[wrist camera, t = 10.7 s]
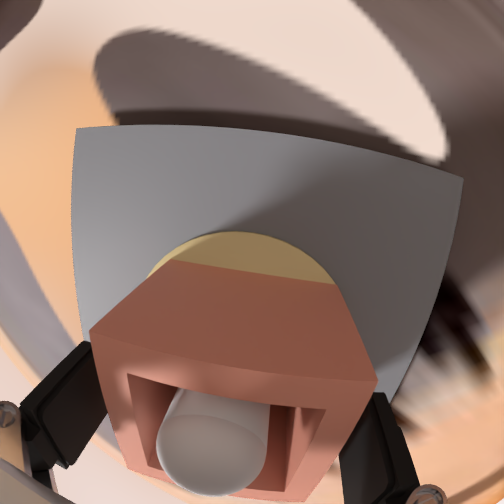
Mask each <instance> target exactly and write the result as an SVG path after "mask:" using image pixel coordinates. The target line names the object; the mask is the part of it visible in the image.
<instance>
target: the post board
mask: <svg viewBox="0 0 504 504" xmlns="http://www.w3.org/2000/svg"><path fill="white" fill-rule="evenodd" d="M463 181H464V178H462V177H460V176H457V175H454V174H451V173H448V172H445V171H442V170H439V169H436V168H433V167H430V166H427V165H424V164H420V163H417V162H413V161H410V160H407V159H403V158H399V157H396V156H392V155H388V154H384V153H380V152H376V151H372V150H368V149H364V148H359V147H355V146H350V145H345V144H340V143H335V142H330V141H325V140H319V139H314V138H308V137H301V136H295V135H288V134H281V133H274V132H266V131H257V130H247V129H237V128H225V127H210V126H190V125H120V126H102V127H88V128H77V129H76V136H75V146H74V158H73V171H72V195H71V226H72V250H73V264H74V276H75V285H76V293H77V301H78V308H79V315H80V321H81V326H82V332H83V337H84V341H88V342H91V341H90V335H89V330H90V329H91V328H92V327H93V326H94V325H95V324H96V323H97V322H98V321H99V320H101V319H102V318H103V317H104V316H105V315H106V314H107V313H108V312H109V311H111V310H112V309H113V308H114V307H115V306H116V305H117V304H118V303H119V302H121V301H122V300H123V299H124V298H125V297H126V296H127V295H129V294H130V293H131V292H132V291H133V290H134V289H135V288H137V287H138V286H139V285H140V284H141V283H142V282H143V281H145V280H146V279H147V278H148V277H149V276H150V275H152V274H153V273H154V272H155V271H156V270H157V269H159V268H160V267H161V266H162V265H163V264H165V263H166V262H167V261H168V260H169V259H173V260H179V261H185V262H191V263H197V264H203V265H209V266H215V267H221V268H228V269H234V270H240V271H247V272H253V273H260V274H266V275H273V276H280V277H286V278H293V279H300V280H307V281H314V282H321V283H328V284H335V285H338V288H339V290H340V292H341V294H342V296H343V298H344V301H345V303H346V305H347V307H348V309H349V312H350V314H351V316H352V318H353V321H354V323H355V325H356V328H357V330H358V332H359V335H360V337H361V339H362V342H363V344H364V346H365V349H366V351H367V354H368V356H369V358H370V361H371V363H372V366H373V368H374V371H375V373H376V376H377V378H378V381H379V382H378V384H377V386H376V388H375V390H374V392H384V393H385V394H386V396H387V399H388V402H389V403H390V401H391V400H392V398H393V396H394V394H395V392H396V390H397V388H398V387H399V385H400V383H401V381H402V379H403V377H404V375H405V373H406V371H407V368H408V366H409V364H410V362H411V360H412V358H413V355H414V353H415V351H416V349H417V346H418V344H419V342H420V339H421V337H422V334H423V332H424V329H425V327H426V324H427V322H428V319H429V317H430V314H431V311H432V308H433V305H434V303H435V300H436V297H437V294H438V291H439V288H440V284H441V281H442V278H443V275H444V271H445V268H446V264H447V260H448V257H449V253H450V249H451V245H452V241H453V236H454V232H455V227H456V223H457V218H458V212H459V207H460V201H461V195H462V188H463ZM269 414H270V404H265V403H257V402H250V401H244V400H238V399H232V398H226V397H221V396H216V395H211V394H206V393H201V392H197V391H192V390H188V389H184V388H179V387H178V389H177V391H176V393H175V395H174V398H173V400H172V402H171V404H170V406H169V409H168V411H167V413H166V415H165V417H164V420H163V422H162V424H161V426H160V428H159V431H158V435H157V440H156V450H157V456H158V459H159V462H160V464H161V466H162V468H163V470H164V471H165V473H166V474H167V475H168V476H169V477H170V479H171V480H172V481H174V482H175V483H176V484H177V485H179V486H180V487H182V488H183V489H185V490H187V491H189V492H192V493H194V494H198V495H202V496H210V497H219V496H225V495H230V494H233V493H236V492H238V491H240V490H242V489H244V488H246V487H247V486H248V485H250V484H251V483H252V482H253V481H254V480H255V479H256V477H257V476H258V475H259V473H260V472H261V470H262V468H263V466H264V463H265V458H266V452H267V440H268V427H269ZM338 455H339V454H338Z"/></svg>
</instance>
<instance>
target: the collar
mask: <svg viewBox="0 0 504 504" xmlns="http://www.w3.org/2000/svg"><path fill="white" fill-rule="evenodd" d="M89 335H90V341H91V346H92V351H93V356H94V361H95V365H96V370H97V374H98V378H99V382H100V386H101V390H102V394H103V397H104V401H105V405H106V408H107V411H108V415H109V418H110V421H111V424H112V427H113V430H114V433H115V436H116V439H117V442H118V444H119V447H120V450H121V452H122V455H123V458H124V460H125V463H126V465H127V467H128V469H130V470H132V471H135V472H138V473H141V474H144V475H147V476H150V477H153V478H156V479H159V480H162V481H166V482H169V483H173V484H176V483H175V482H174V481H172V480H171V479H170V477H169V476H168V475H167V474H166V473H165V471H164V470H163V468H162V466H161V464H160V462H159V459H158V456H157V450H156V440H157V435H158V431H159V428H160V426H161V424H162V422H163V420H164V417H165V415H166V413H167V411H168V409H169V406H170V404H171V402H172V400H173V398H174V395H175V393H176V391H177V389H178V387H179V388H184V389H188V390H192V391H197V392H201V393H206V394H211V395H216V396H221V397H226V398H232V399H238V400H244V401H250V402H257V403H265V404H270V414H269V427H268V440H267V452H266V458H265V463H264V466H263V468H262V470H261V472H260V473H259V475H258V476H257V477H256V479H255V480H254V481H253V482H252V483H251V484H250V485H248V486H247V487H246V488H244V489H242V490H240V491H238V492H236V493H233V494H230V495H228V496H235V497H242V498H250V499H259V500H270V501H285V502H305V501H306V499H307V498H308V497H309V495H310V494H311V493H312V491H313V490H314V489H315V487H316V486H317V485H318V483H319V482H320V481H321V479H322V478H323V476H324V475H325V473H326V472H327V471H328V469H329V468H330V466H331V465H332V463H333V462H334V460H335V459H336V457H337V455H338V454H339V452H340V451H341V449H342V448H343V446H344V444H345V443H346V441H347V439H348V438H349V436H350V434H351V433H352V431H353V429H354V427H355V426H356V424H357V422H358V420H359V419H360V417H361V415H362V413H363V411H364V409H365V407H366V406H367V404H368V402H369V400H370V398H371V396H372V394H373V392H374V390H375V388H376V386H377V384H378V382H379V381H378V378H377V376H376V373H375V371H374V368H373V366H372V363H371V361H370V358H369V356H368V354H367V351H366V349H365V346H364V344H363V342H362V339H361V337H360V335H359V332H358V330H357V328H356V325H355V323H354V321H353V318H352V316H351V314H350V312H349V309H348V307H347V305H346V303H345V301H344V298H343V296H342V294H341V292H340V290H339V288H338V285H335V284H328V283H321V282H314V281H307V280H300V279H293V278H286V277H280V276H273V275H266V274H260V273H253V272H247V271H240V270H234V269H228V268H221V267H215V266H209V265H203V264H197V263H191V262H185V261H179V260H173V259H169V260H168V261H167V262H166V263H165V264H163V265H162V266H161V267H160V268H159V269H157V270H156V271H155V272H154V273H153V274H152V275H150V276H149V277H148V278H147V279H146V280H145V281H143V282H142V283H141V284H140V285H139V286H138V287H137V288H135V289H134V290H133V291H132V292H131V293H130V294H129V295H127V296H126V297H125V298H124V299H123V300H122V301H121V302H119V303H118V304H117V305H116V306H115V307H114V308H113V309H112V310H111V311H109V312H108V313H107V314H106V315H105V316H104V317H103V318H102V319H101V320H99V321H98V322H97V323H96V324H95V325H94V326H93V327H92V328H91V329H90V330H89Z"/></svg>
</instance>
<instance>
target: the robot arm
mask: <svg viewBox="0 0 504 504" xmlns="http://www.w3.org/2000/svg"><path fill="white" fill-rule="evenodd" d="M20 405H21V406H20V407H19V408H18V407H17V406H16V405H15V404H13V403H12V402H9V401H0V504H75V503H73V502H72V501H70V500H68V499H66V498H64V497H63V496H61V495H59V494H58V490H57V487H56V482H55V478H54V474H53V469H52V467H53V466H54V464H55V463H56V464H57V465H59V466H61V467H63V468H65V469H67V468H68V467H69V465H73V464H74V463H75V462H76V460H77V458H78V457H79V456H80V454H81V453H82V451H83V450H84V448H85V446H86V445H87V443H88V442H89V440H90V439H91V437H92V436H93V434H94V433H95V431H96V430H97V428H98V427H99V425H100V424H101V422H102V421H103V419H104V417H105V416H106V414H107V413H108V411H107V408H106V405H105V401H104V397H103V394H102V390H101V386H100V382H99V378H98V374H97V370H96V365H95V361H94V356H93V351H92V346H91V342H88V341H83V342H81V343H80V344H79V345H78V346H77V347H76V348H75V349H74V350H73V351H72V352H71V353H70V354H69V355H68V356H67V357H66V358H64V359H63V360H62V361H61V362H60V363H59V364H58V365H57V366H56V367H55V368H54V369H53V370H52V371H51V372H50V373H49V374H48V375H47V376H46V377H45V378H44V379H43V380H42V381H41V382H40V383H39V384H38V385H37V386H36V387H35V388H34V389H33V391H32V392H31V393H30V394H29V395H28V396H27V397H26V398H25V399H24V400H23V401H22V402H21V403H20ZM339 462H340V469H341V477H342V486H343V495H344V504H447V497H446V495H445V492H444V491H443V490H442V489H441V488H439V487H438V486H435V485H431V484H425V485H422V486H420V483H419V480H418V477H417V474H416V471H415V468H414V464H413V461H412V458H411V455H410V452H409V450H408V447H407V444H406V441H405V438H404V435H403V432H402V430H401V428H400V427H399V426H397V423H396V420H395V418H394V415H393V412H392V410H391V407H390V404H389V402H388V399H387V396H386V394H385V393H384V392H373V394H372V396H371V398H370V400H369V402H368V404H367V406H366V407H365V409H364V411H363V413H362V415H361V417H360V419H359V420H358V422H357V424H356V426H355V427H354V429H353V431H352V433H351V434H350V436H349V438H348V439H347V441H346V443H345V444H344V446H343V448H342V449H341V451H340V452H339Z"/></svg>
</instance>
